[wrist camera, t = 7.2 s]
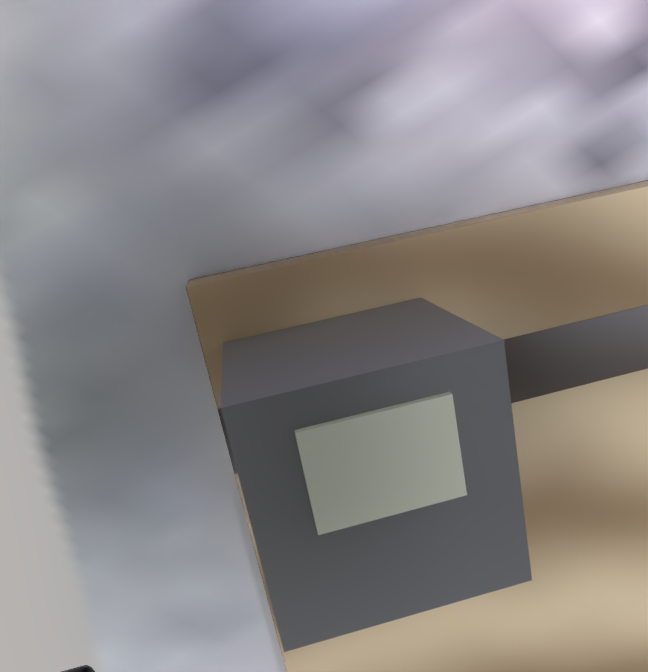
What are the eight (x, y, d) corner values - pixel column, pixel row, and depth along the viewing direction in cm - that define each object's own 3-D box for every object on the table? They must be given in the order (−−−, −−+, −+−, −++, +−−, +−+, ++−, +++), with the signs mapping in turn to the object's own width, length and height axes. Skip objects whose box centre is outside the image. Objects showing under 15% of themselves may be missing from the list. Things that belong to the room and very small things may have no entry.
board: (703, 683, 21) (732, 712, 20) (326, 805, 19) (332, 845, 18) (688, 171, 16) (724, 169, 15) (189, 280, 15) (185, 287, 13)
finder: (448, 475, 16) (535, 584, 11) (267, 522, 15) (284, 657, 11) (421, 297, 14) (507, 341, 10) (223, 342, 14) (220, 410, 9)
